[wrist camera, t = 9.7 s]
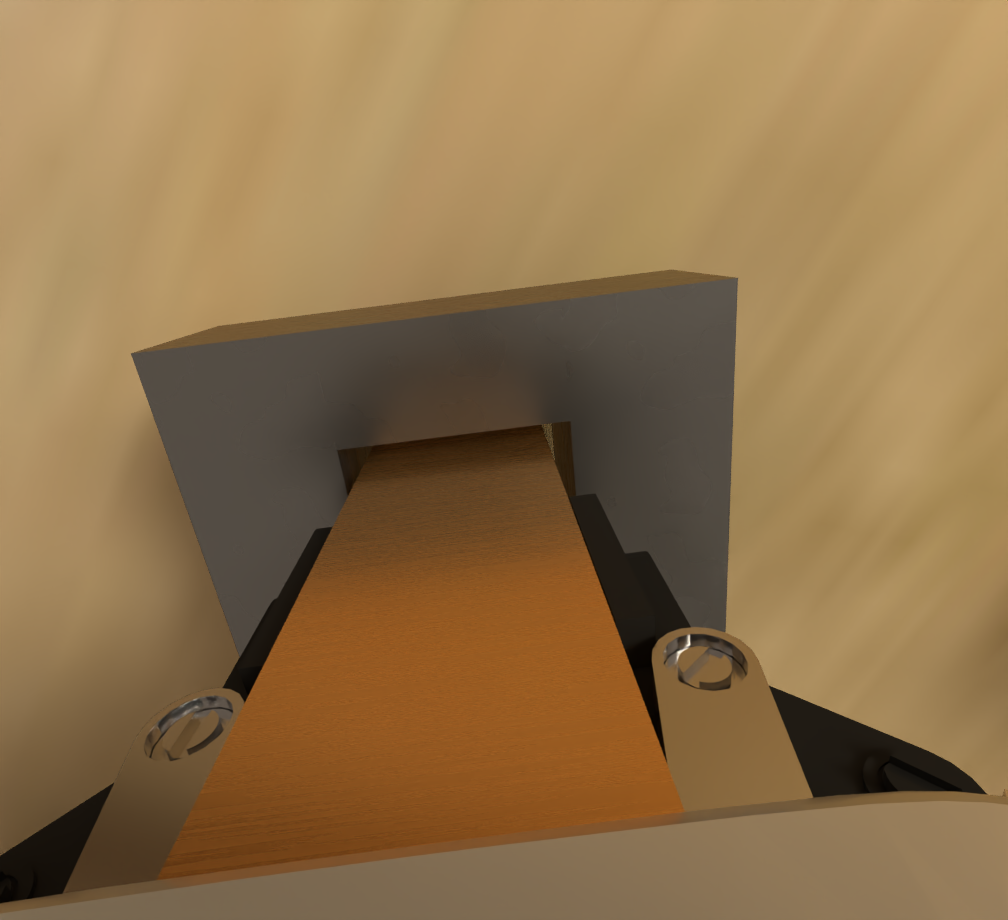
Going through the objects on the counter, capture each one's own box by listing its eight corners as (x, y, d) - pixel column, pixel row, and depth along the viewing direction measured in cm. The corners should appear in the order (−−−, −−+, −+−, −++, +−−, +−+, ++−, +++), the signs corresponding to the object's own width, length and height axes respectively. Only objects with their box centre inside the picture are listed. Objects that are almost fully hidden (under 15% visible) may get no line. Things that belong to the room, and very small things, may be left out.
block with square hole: (631, 264, 18) (1010, 311, 5) (644, 688, 25) (830, 1174, 12) (270, 309, 18) (-229, 466, 5) (377, 722, 25) (271, 1247, 12)
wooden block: (551, 554, 15) (757, 1380, 4) (406, 572, 15) (226, 1452, 4) (537, 415, 14) (797, 1116, 3) (378, 435, 14) (-16, 1223, 3)
